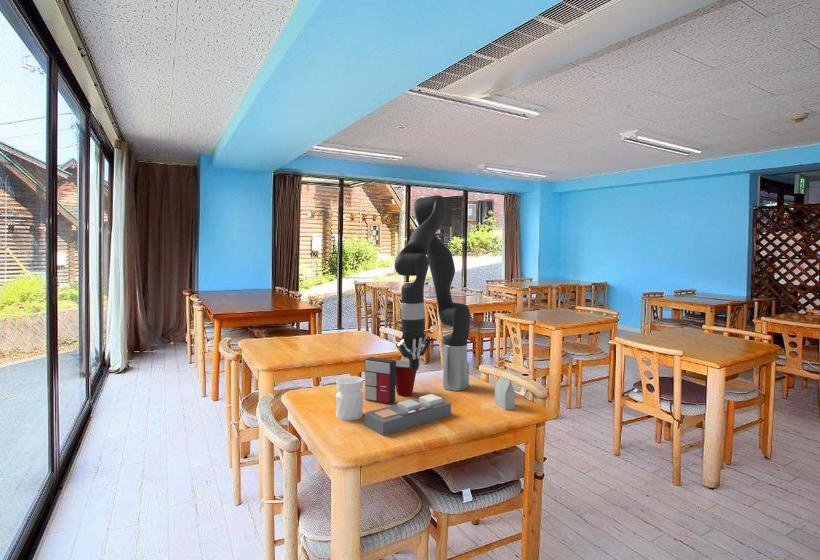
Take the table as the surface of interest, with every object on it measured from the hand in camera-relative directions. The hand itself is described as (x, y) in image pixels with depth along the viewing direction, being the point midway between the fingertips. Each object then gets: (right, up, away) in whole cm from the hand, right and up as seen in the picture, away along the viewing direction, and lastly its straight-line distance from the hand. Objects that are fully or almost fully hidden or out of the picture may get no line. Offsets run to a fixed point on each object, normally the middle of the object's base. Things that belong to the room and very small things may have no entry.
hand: (414, 369), depth 150 cm
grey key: (-2, -14, -1) cm, 14 cm away
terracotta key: (-9, -15, -6) cm, 18 cm away
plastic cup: (-3, -14, +26) cm, 30 cm away
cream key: (+5, -13, +5) cm, 15 cm away
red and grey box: (-12, -15, +18) cm, 26 cm away
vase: (-21, -16, +4) cm, 27 cm away
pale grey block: (+31, -15, +13) cm, 37 cm away
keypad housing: (-2, -16, 0) cm, 16 cm away
